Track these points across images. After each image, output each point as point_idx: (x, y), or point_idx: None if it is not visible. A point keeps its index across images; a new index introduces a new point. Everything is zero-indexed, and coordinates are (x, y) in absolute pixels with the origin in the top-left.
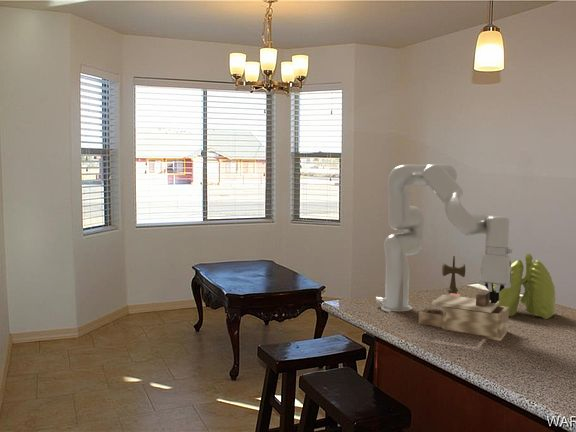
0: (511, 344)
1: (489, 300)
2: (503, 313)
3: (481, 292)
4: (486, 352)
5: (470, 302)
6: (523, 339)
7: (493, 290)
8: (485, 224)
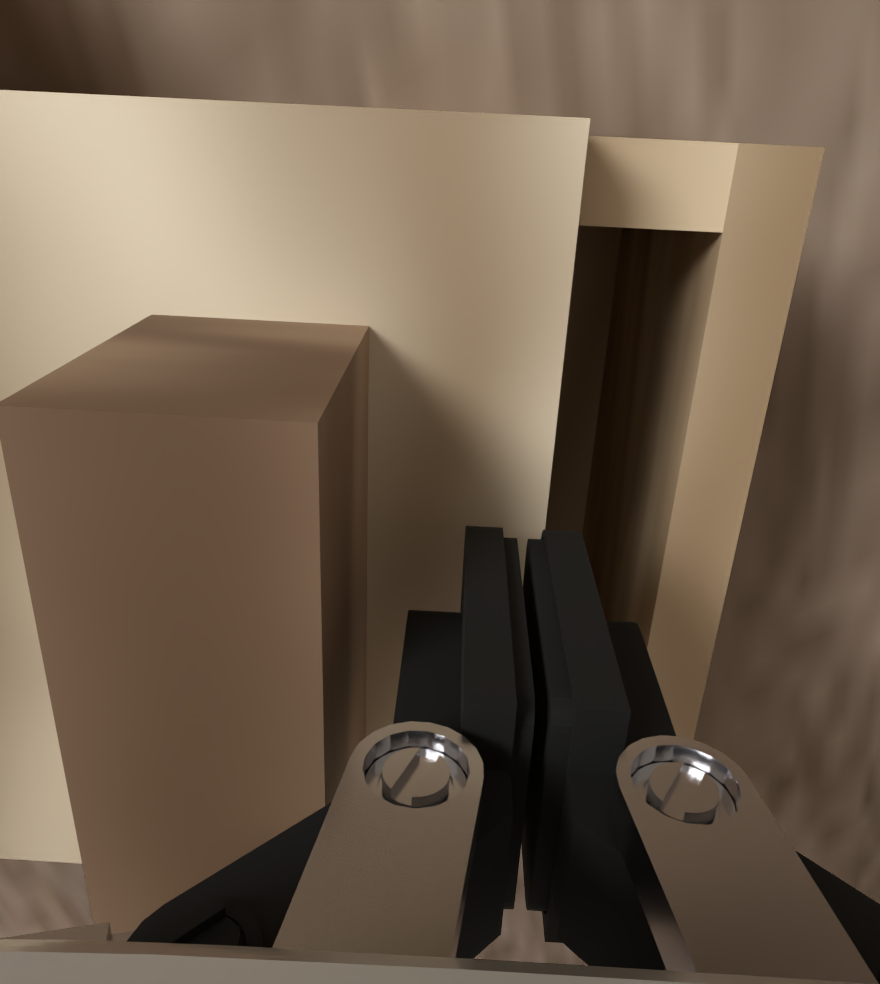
0: (722, 657)
1: (361, 371)
2: (698, 700)
3: (134, 746)
4: (522, 930)
5: (14, 589)
6: (867, 418)
7: (503, 896)
8: None
